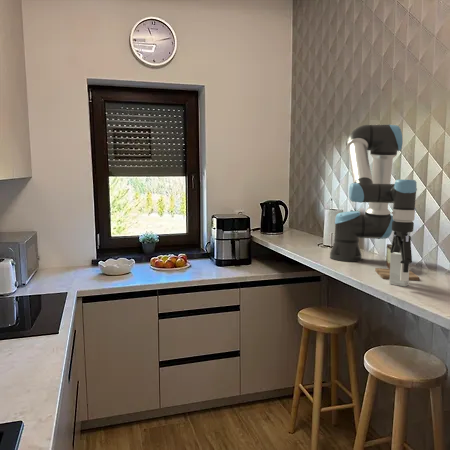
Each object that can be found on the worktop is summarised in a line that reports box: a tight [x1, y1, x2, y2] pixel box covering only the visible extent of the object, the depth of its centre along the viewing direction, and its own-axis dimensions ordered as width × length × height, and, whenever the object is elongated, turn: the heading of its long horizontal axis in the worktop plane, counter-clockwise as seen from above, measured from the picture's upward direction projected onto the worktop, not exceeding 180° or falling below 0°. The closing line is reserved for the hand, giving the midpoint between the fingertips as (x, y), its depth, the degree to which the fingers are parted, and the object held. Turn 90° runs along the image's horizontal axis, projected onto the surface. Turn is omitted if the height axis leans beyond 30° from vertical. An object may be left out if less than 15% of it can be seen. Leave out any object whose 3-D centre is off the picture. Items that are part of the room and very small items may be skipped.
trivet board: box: [374, 267, 420, 282], centre depth 174 cm, size 14×14×1 cm
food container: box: [385, 243, 401, 269], centre depth 187 cm, size 12×6×10 cm, turn 168°
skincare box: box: [388, 252, 410, 287], centre depth 159 cm, size 6×4×12 cm
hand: (399, 276), depth 159 cm, fingers open, 13 cm apart
